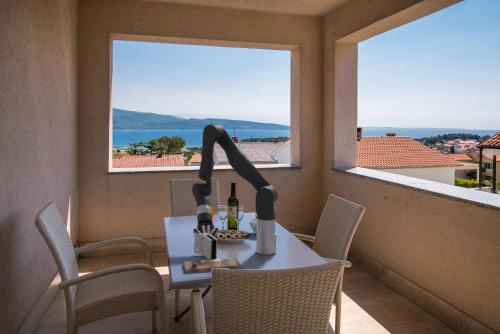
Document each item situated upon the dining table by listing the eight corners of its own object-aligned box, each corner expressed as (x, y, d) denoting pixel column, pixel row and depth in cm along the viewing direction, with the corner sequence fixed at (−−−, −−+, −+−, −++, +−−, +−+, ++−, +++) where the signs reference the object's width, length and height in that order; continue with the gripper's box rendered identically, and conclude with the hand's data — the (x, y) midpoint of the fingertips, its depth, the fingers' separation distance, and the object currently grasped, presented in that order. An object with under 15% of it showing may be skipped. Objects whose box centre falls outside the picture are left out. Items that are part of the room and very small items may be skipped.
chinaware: (266, 229, 233) (266, 217, 233) (278, 235, 220) (279, 222, 219) (244, 231, 227) (244, 219, 226) (256, 238, 213) (256, 224, 213)
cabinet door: (236, 261, 174) (236, 254, 173) (241, 268, 164) (241, 261, 164) (183, 264, 168) (183, 258, 167) (185, 273, 158) (185, 265, 158)
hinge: (193, 252, 182) (194, 232, 180) (202, 250, 186) (203, 230, 184) (211, 262, 172) (212, 241, 171) (220, 259, 176) (221, 238, 174)
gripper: (191, 212, 186) (194, 243, 176) (218, 211, 190) (221, 241, 179) (190, 220, 192) (192, 250, 181) (216, 219, 195) (220, 249, 184)
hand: (207, 246), depth 180 cm, fingers closed
